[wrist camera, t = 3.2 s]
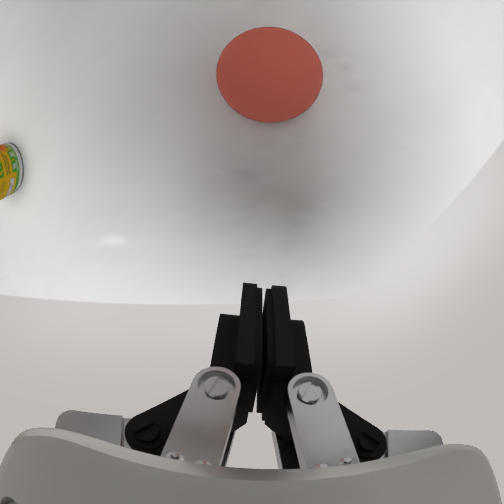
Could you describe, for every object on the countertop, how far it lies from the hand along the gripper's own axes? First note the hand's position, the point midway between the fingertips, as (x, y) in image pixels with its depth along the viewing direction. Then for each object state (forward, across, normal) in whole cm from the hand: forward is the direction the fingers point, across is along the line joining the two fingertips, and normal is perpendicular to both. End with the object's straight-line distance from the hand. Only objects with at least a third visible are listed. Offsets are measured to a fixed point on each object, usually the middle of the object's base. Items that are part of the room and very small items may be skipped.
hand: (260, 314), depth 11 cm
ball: (+8, 0, -10) cm, 13 cm away
